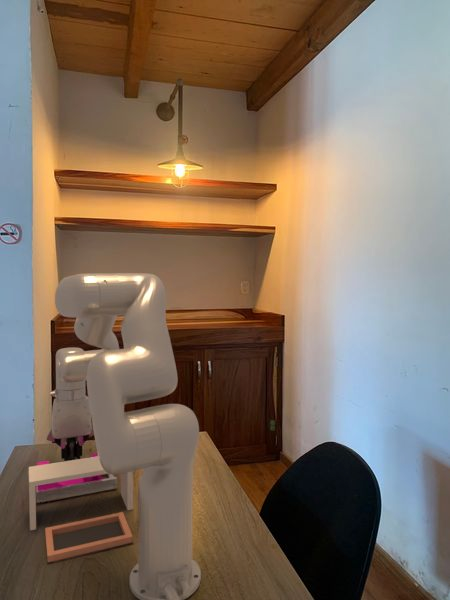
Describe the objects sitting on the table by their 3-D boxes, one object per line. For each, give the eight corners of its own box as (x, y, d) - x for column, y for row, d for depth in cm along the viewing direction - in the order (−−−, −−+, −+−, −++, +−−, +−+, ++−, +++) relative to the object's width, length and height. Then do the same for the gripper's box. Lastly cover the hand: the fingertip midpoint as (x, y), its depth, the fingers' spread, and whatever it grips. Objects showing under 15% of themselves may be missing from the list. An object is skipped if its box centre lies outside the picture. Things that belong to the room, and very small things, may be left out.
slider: (117, 488, 113) (117, 455, 112) (36, 503, 105) (36, 467, 105) (105, 459, 130) (105, 430, 129) (35, 470, 122) (34, 440, 121)
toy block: (38, 503, 106) (37, 472, 106) (37, 491, 112) (37, 462, 112) (103, 491, 113) (103, 462, 112) (99, 480, 118) (99, 452, 118)
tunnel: (132, 509, 104) (132, 464, 103) (30, 530, 95) (29, 482, 94) (125, 493, 111) (125, 451, 111) (29, 511, 102) (28, 466, 102)
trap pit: (132, 543, 91) (132, 536, 91) (47, 563, 85) (47, 556, 84) (122, 518, 100) (122, 511, 100) (45, 535, 94) (45, 528, 94)
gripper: (39, 400, 116) (40, 470, 117) (103, 394, 122) (104, 460, 123) (38, 393, 122) (39, 459, 124) (99, 387, 129) (100, 450, 130)
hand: (71, 459), depth 123 cm, fingers closed on slider, 2 cm apart
